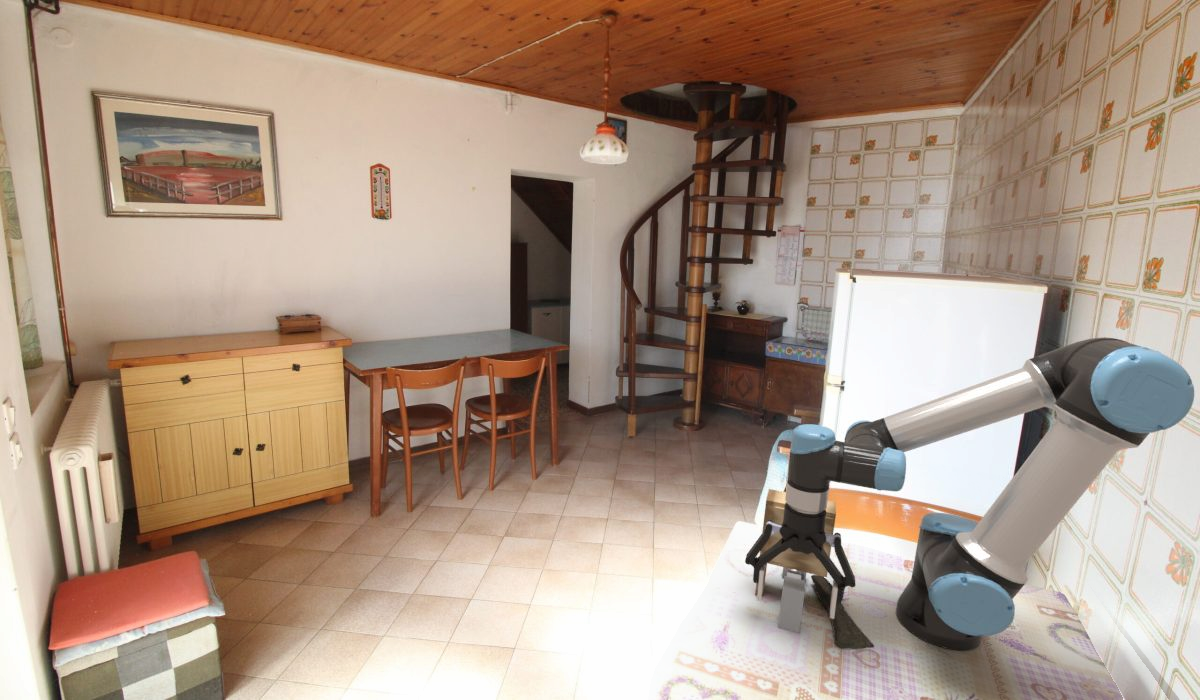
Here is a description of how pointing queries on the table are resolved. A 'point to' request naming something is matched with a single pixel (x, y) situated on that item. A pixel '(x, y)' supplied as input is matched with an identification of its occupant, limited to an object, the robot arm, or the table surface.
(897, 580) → the table surface
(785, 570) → the grey short cylinder
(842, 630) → the tool
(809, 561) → the wall cabinet
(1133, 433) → the robot arm
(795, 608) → the gray stepped block
